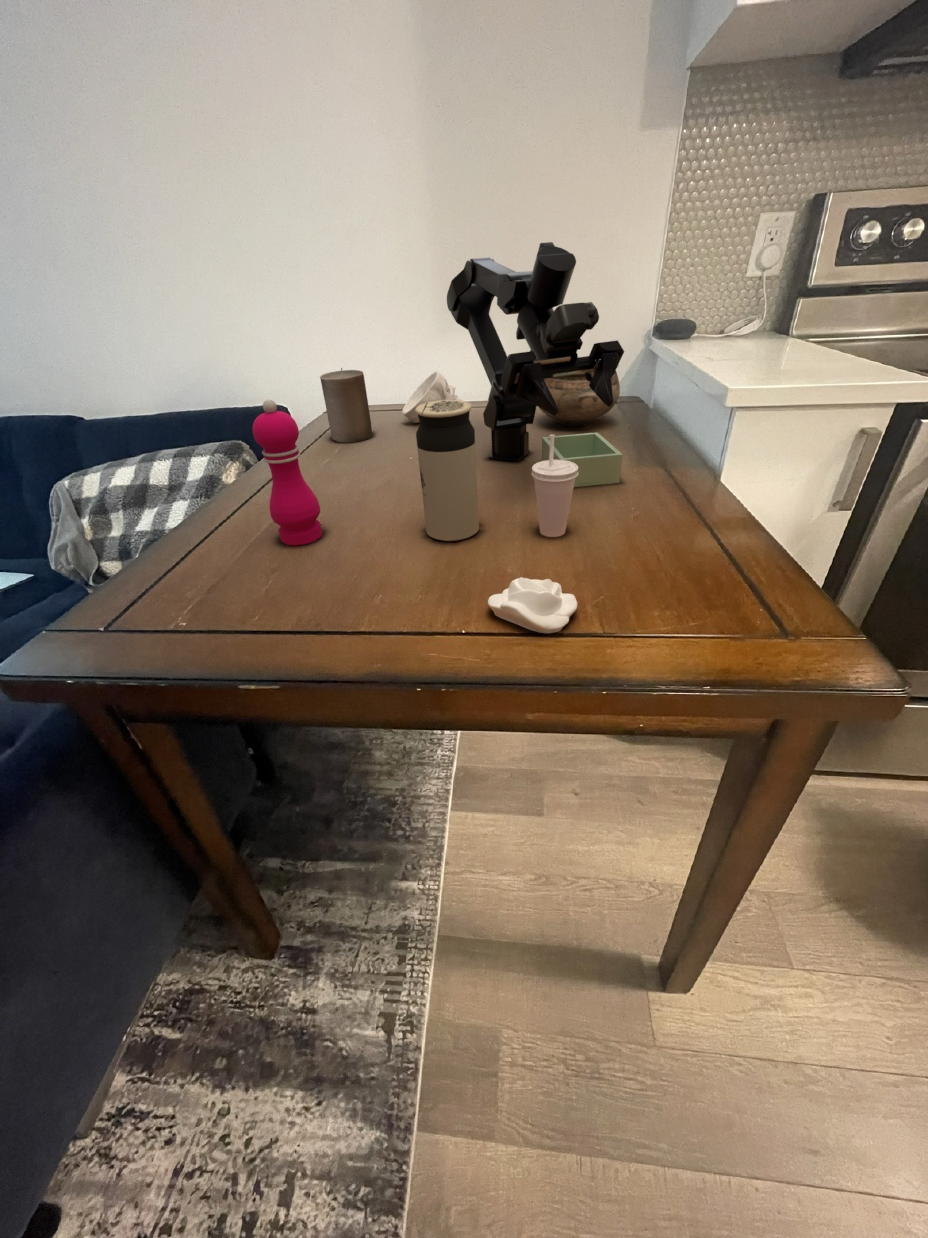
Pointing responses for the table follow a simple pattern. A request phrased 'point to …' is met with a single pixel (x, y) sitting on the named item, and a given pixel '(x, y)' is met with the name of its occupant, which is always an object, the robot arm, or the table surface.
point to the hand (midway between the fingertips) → (584, 408)
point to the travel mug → (448, 469)
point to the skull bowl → (429, 394)
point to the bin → (587, 457)
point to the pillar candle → (347, 405)
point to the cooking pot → (578, 399)
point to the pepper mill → (287, 477)
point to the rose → (534, 605)
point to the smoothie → (553, 492)
